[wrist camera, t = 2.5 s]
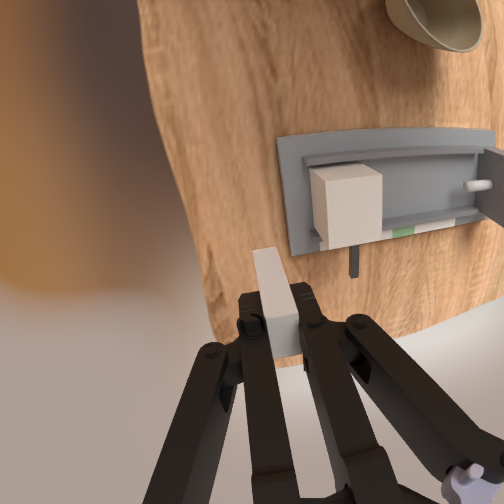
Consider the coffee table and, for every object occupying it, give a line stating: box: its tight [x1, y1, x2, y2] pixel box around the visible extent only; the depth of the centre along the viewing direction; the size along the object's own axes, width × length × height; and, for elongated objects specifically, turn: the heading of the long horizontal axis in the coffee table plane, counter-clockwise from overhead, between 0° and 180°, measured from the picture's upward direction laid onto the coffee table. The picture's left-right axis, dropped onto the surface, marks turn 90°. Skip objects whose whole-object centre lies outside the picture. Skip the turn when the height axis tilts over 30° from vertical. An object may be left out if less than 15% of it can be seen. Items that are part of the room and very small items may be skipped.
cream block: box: [309, 162, 382, 279], centre depth 27 cm, size 10×5×5 cm, turn 9°
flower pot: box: [385, 0, 483, 52], centre depth 17 cm, size 10×10×7 cm
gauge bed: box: [275, 127, 504, 256], centre depth 26 cm, size 12×28×7 cm, turn 99°
